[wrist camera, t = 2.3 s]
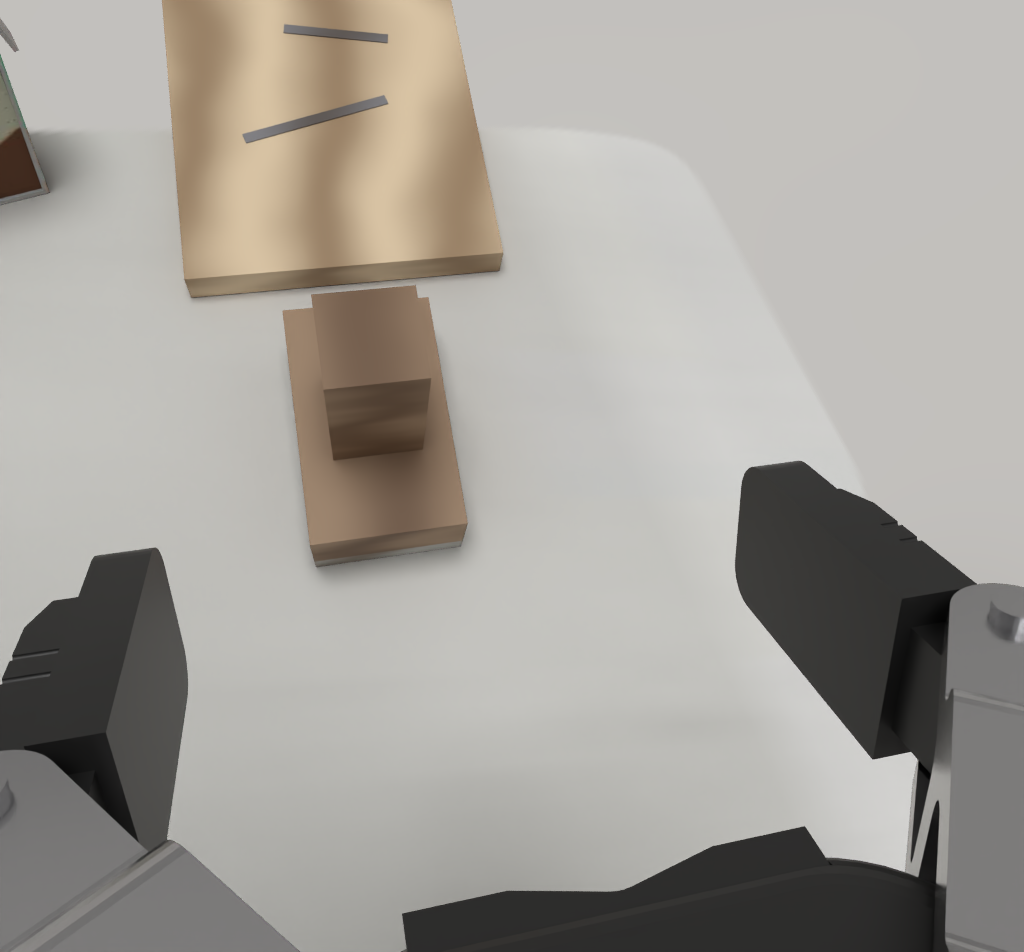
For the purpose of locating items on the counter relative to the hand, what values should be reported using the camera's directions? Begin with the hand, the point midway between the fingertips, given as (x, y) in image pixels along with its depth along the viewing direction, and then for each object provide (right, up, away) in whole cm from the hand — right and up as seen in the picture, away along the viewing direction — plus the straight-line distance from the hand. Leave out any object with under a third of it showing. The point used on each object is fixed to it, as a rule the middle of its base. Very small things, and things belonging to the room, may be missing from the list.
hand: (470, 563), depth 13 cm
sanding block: (-5, +2, +27) cm, 28 cm away
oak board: (-9, +19, +32) cm, 39 cm away
